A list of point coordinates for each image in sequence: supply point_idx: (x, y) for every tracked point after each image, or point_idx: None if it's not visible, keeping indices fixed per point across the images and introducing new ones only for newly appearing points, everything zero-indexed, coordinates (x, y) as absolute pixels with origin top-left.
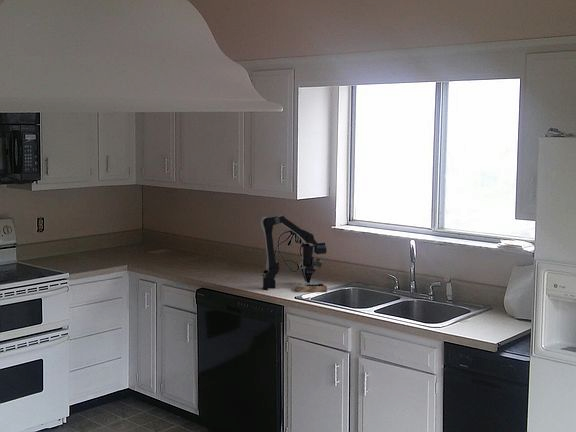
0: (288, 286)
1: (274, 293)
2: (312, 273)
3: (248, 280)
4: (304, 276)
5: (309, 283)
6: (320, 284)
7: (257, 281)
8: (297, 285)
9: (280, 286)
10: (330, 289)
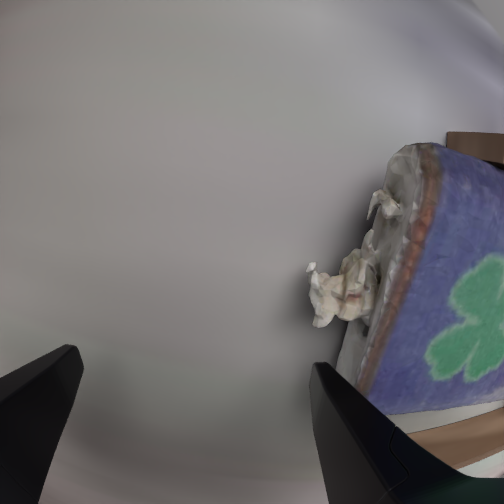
0: (208, 472)
1: None
2: (500, 488)
3: (40, 498)
4: (53, 433)
5: (444, 378)
6: (401, 152)
7: (48, 493)
8: (490, 454)
9: (210, 499)
10: (501, 64)
